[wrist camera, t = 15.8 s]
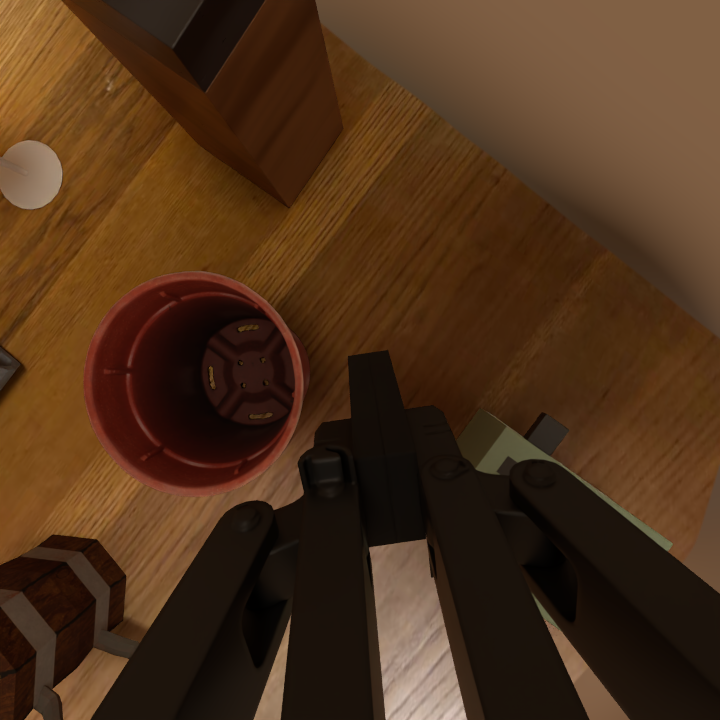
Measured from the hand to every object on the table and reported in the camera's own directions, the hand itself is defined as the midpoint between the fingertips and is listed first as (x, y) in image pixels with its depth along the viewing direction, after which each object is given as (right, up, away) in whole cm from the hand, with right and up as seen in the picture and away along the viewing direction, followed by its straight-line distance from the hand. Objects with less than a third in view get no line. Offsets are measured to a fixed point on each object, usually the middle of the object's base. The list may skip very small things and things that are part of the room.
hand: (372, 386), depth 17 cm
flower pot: (-12, 0, +32) cm, 34 cm away
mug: (-30, -27, +34) cm, 53 cm away
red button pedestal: (-10, +25, +31) cm, 41 cm away
